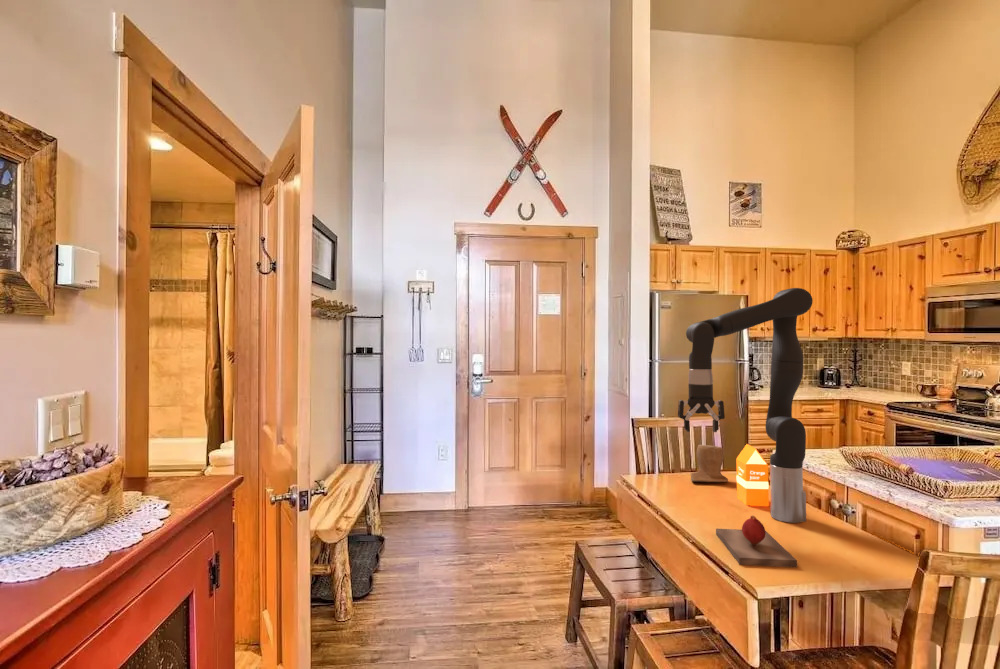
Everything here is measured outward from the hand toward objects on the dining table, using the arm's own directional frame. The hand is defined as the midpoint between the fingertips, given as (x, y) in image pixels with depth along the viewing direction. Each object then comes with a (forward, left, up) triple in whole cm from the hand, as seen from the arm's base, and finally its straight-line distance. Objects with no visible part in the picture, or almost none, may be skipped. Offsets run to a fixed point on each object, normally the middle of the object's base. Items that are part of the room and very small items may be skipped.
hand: (701, 431), depth 162 cm
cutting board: (-7, +25, -28) cm, 38 cm away
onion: (-7, +26, -26) cm, 38 cm away
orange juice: (-22, -18, -28) cm, 40 cm away
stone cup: (-14, -44, -28) cm, 54 cm away
